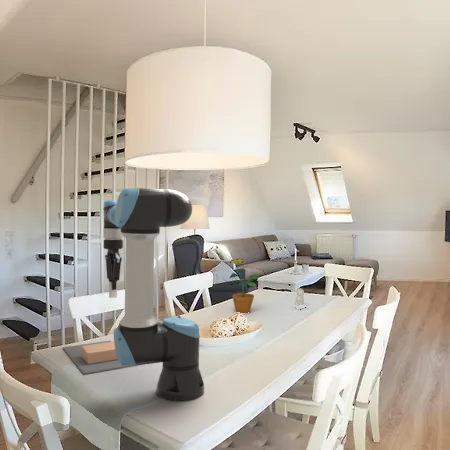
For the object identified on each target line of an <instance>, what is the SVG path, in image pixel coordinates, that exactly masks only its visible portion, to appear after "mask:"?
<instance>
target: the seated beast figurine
mask: <svg viewBox="0 0 450 450" xmlns="http://www.w3.org/2000/svg"><path fill="white" fill-rule="evenodd" d="M294 292H295V293H296V295H297V296H296V297H295V300H294V303H293V305H294V304H295V305H297V306H299V305H304V304H305V301H304V300H305V299H304V295H305V291H304V289H303V288H297V289H295V290H294Z"/></svg>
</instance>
